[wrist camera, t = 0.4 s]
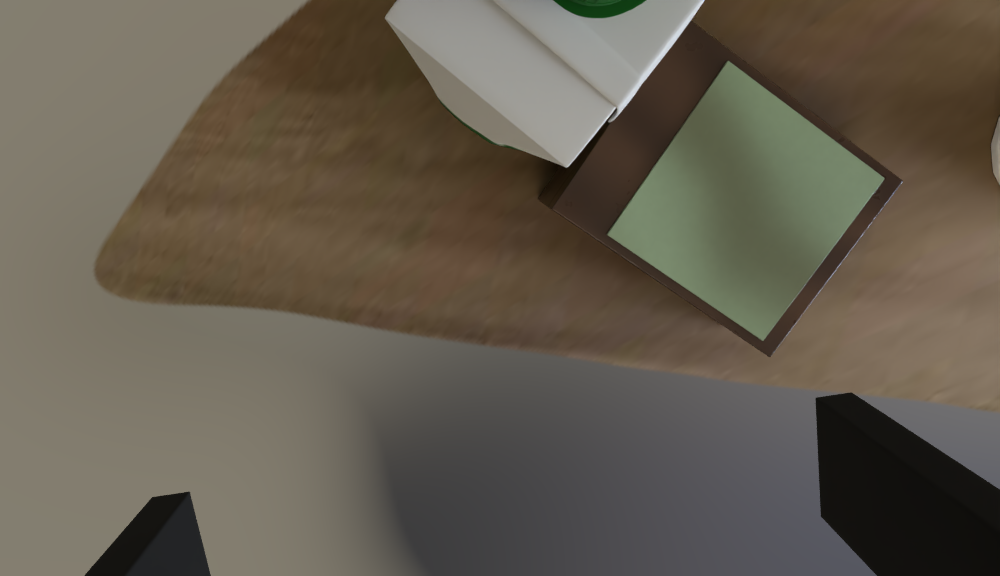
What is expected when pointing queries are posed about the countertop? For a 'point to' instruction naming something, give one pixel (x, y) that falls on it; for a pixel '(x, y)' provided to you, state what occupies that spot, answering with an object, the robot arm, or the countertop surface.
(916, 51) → the countertop surface
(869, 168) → the brown wooden stand
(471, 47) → the milk carton
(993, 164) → the white patterned cylinder
